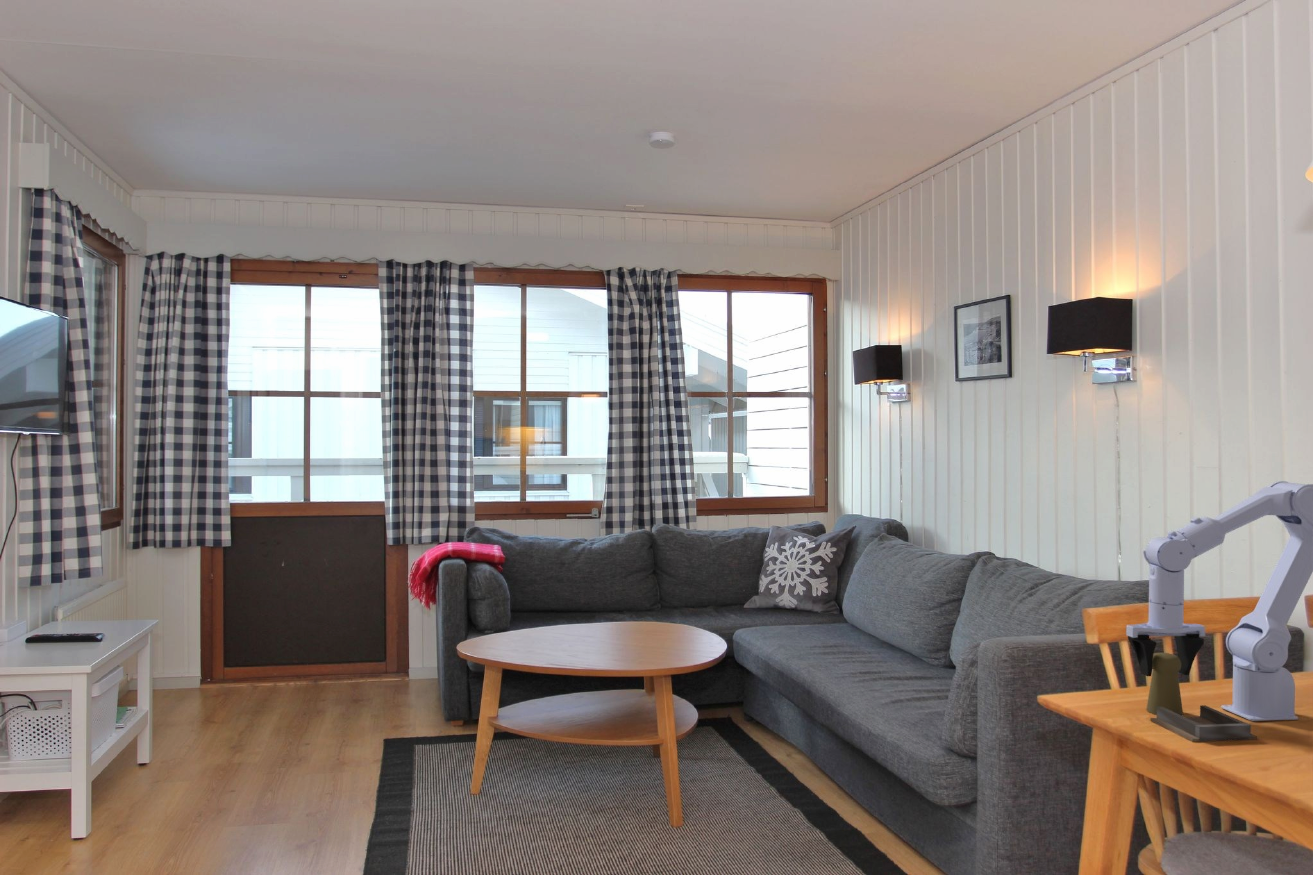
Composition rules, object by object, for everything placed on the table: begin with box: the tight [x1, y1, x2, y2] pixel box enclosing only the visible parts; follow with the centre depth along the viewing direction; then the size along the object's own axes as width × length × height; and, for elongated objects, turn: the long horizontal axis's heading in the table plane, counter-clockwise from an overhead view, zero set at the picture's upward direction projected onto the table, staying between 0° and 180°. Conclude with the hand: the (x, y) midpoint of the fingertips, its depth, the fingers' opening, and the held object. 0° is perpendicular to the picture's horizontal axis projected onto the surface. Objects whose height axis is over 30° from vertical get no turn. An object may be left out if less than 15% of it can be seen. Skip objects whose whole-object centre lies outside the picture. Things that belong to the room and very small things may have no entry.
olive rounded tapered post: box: [1146, 652, 1184, 716], centre depth 171 cm, size 6×6×11 cm
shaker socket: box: [1149, 704, 1258, 743], centre depth 161 cm, size 12×11×2 cm
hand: (1164, 674), depth 171 cm, fingers open, 7 cm apart
